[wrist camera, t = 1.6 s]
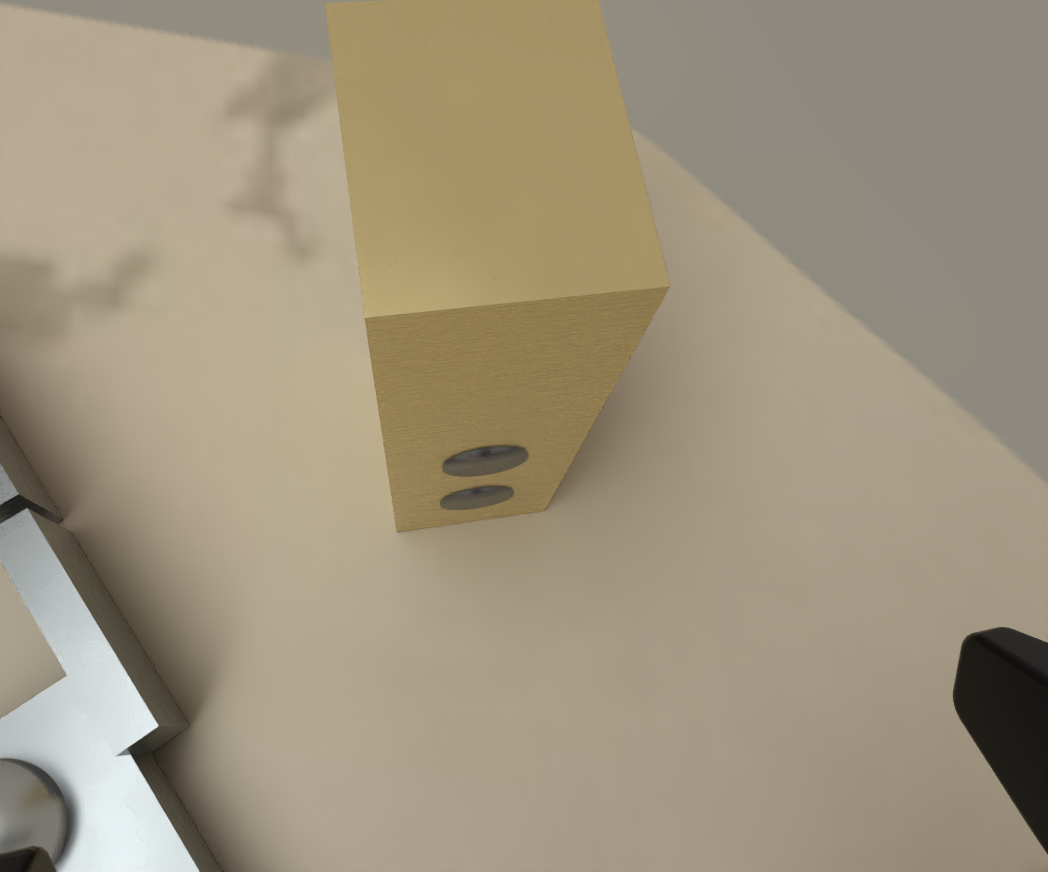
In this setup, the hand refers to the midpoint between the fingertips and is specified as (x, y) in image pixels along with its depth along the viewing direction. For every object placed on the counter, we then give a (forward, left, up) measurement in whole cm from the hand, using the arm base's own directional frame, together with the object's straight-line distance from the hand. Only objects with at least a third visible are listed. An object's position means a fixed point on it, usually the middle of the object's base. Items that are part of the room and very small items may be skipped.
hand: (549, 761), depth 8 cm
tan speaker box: (+8, -2, -14) cm, 16 cm away
